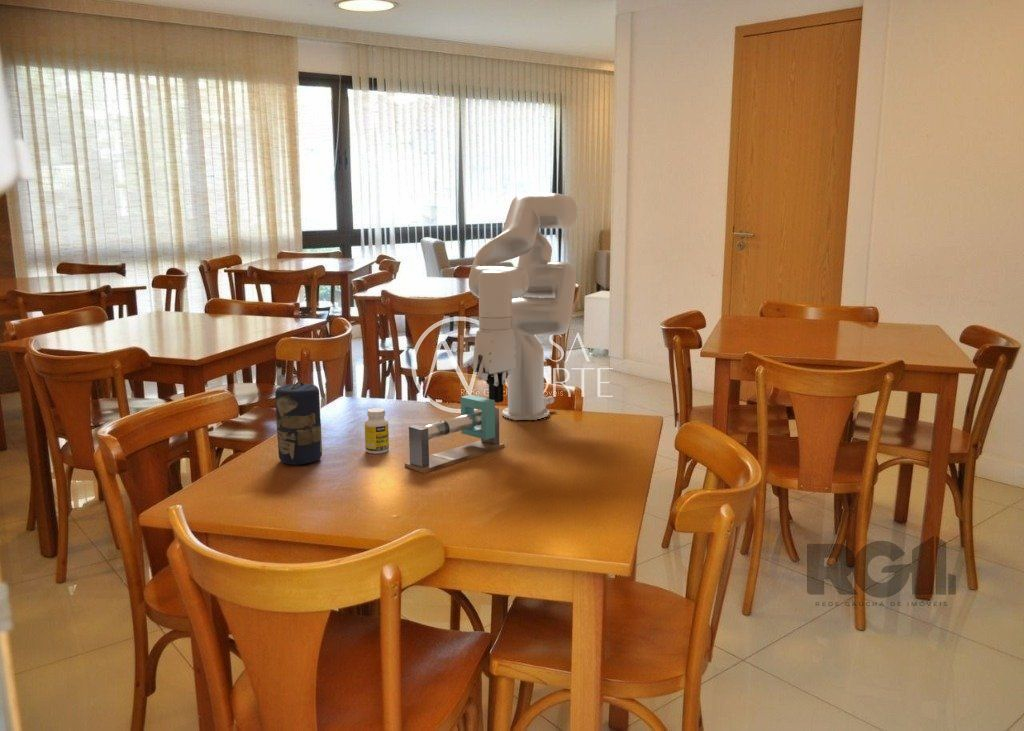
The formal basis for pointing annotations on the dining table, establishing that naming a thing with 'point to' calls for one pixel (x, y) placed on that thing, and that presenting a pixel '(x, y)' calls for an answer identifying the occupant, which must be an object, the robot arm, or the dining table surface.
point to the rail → (423, 434)
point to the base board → (456, 455)
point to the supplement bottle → (376, 431)
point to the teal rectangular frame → (487, 416)
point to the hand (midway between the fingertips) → (496, 401)
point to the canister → (298, 423)
